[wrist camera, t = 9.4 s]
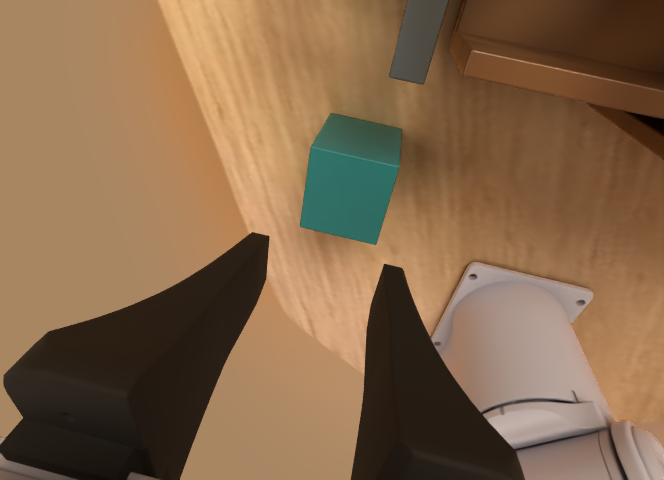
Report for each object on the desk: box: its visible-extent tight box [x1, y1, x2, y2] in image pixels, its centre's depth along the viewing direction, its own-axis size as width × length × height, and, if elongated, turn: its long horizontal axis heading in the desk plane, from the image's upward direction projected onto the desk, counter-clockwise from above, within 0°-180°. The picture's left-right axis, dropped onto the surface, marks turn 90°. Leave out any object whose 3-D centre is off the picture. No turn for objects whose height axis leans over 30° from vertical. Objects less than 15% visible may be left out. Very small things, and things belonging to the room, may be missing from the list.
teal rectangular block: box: [300, 113, 402, 245], centre depth 20 cm, size 4×4×5 cm
